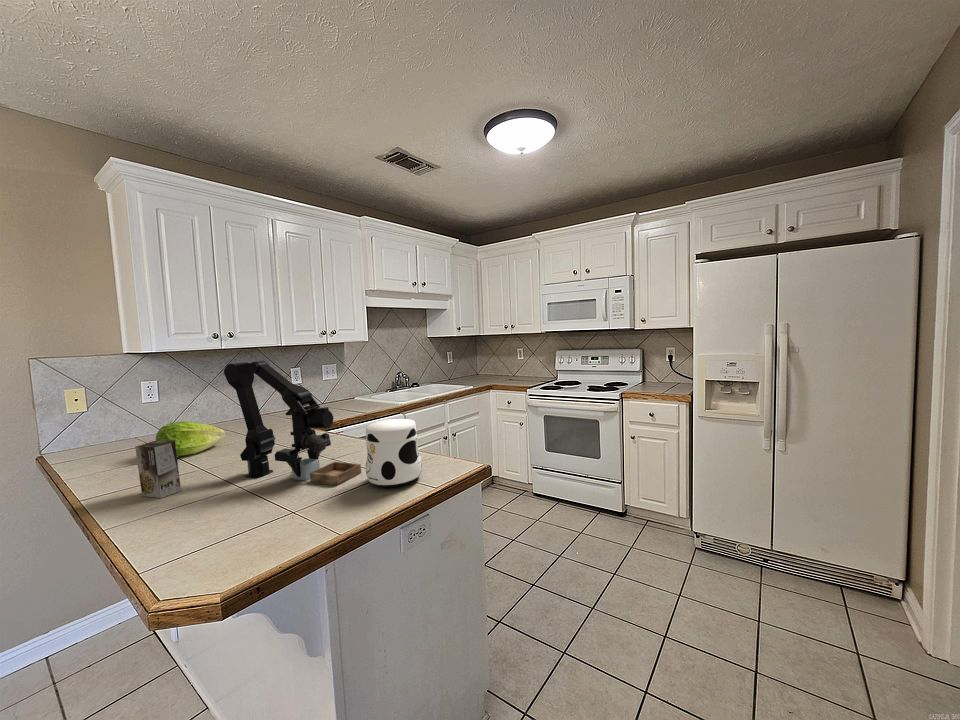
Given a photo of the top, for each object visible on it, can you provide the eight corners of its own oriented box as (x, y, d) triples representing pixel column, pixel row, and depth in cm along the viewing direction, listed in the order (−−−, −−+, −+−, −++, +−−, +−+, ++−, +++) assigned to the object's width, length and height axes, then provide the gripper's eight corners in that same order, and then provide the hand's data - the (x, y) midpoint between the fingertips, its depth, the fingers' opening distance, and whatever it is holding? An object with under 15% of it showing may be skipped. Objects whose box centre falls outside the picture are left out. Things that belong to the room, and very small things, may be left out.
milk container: (356, 483, 125) (351, 426, 124) (401, 466, 138) (397, 415, 136) (387, 496, 114) (382, 434, 112) (434, 477, 126) (430, 421, 125)
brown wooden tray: (310, 482, 128) (309, 472, 128) (335, 469, 139) (334, 461, 138) (337, 485, 124) (336, 476, 124) (361, 472, 134) (360, 464, 134)
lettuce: (231, 450, 173) (230, 417, 175) (160, 459, 155) (160, 422, 157) (219, 450, 185) (219, 419, 186) (152, 458, 167) (152, 424, 168)
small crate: (292, 478, 132) (291, 464, 132) (307, 472, 138) (305, 458, 137) (306, 480, 130) (305, 465, 129) (320, 474, 135) (319, 459, 135)
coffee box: (182, 490, 127) (176, 440, 126) (160, 498, 121) (154, 447, 120) (162, 488, 130) (156, 439, 129) (140, 496, 124) (134, 445, 123)
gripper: (297, 436, 121) (302, 486, 122) (341, 422, 138) (344, 466, 139) (271, 434, 125) (276, 483, 126) (316, 420, 142) (320, 463, 143)
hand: (306, 473), depth 134 cm, fingers closed on small crate, 6 cm apart
